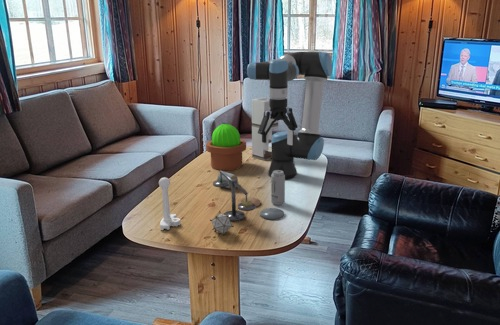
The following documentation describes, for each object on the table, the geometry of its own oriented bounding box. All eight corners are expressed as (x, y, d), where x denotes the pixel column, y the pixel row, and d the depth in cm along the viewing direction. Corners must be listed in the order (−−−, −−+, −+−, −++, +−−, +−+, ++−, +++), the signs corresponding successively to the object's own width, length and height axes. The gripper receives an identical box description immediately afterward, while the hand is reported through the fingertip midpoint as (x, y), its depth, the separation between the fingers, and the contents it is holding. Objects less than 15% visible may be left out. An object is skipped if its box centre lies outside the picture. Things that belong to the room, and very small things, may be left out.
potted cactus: (232, 174, 242) (231, 128, 235) (199, 168, 253) (197, 124, 246) (253, 163, 260) (252, 121, 253) (222, 158, 271) (220, 117, 264)
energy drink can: (268, 202, 203) (268, 171, 199) (279, 200, 206) (279, 168, 202) (276, 207, 198) (276, 174, 194) (287, 204, 201) (287, 172, 197)
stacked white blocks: (264, 160, 265) (264, 101, 255) (252, 157, 273) (251, 99, 263) (278, 157, 273) (278, 99, 262) (265, 153, 280) (265, 97, 270)
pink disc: (251, 197, 209) (251, 195, 209) (265, 204, 201) (265, 202, 201) (233, 203, 203) (233, 200, 203) (247, 209, 196) (247, 207, 195)
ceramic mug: (230, 191, 218) (230, 176, 216) (216, 188, 222) (216, 173, 220) (242, 185, 226) (242, 170, 224) (229, 182, 231) (228, 168, 228)
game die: (220, 243, 174) (207, 230, 167) (215, 228, 180) (203, 214, 174) (240, 232, 173) (228, 218, 166) (235, 217, 179) (223, 202, 173)
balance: (209, 210, 195) (207, 170, 190) (226, 205, 200) (225, 166, 195) (243, 230, 176) (242, 185, 171) (261, 224, 181) (260, 180, 176)
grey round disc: (273, 208, 197) (273, 206, 197) (289, 215, 189) (289, 213, 189) (255, 214, 191) (255, 211, 191) (270, 221, 183) (270, 219, 183)
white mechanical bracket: (166, 218, 188) (162, 173, 182) (183, 219, 187) (181, 173, 181) (157, 230, 177) (154, 182, 171) (176, 231, 176) (173, 182, 171)
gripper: (260, 102, 178) (260, 154, 184) (306, 96, 192) (305, 144, 199) (249, 100, 184) (249, 150, 190) (294, 94, 198) (293, 141, 204)
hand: (278, 147), depth 194 cm, fingers open, 13 cm apart
